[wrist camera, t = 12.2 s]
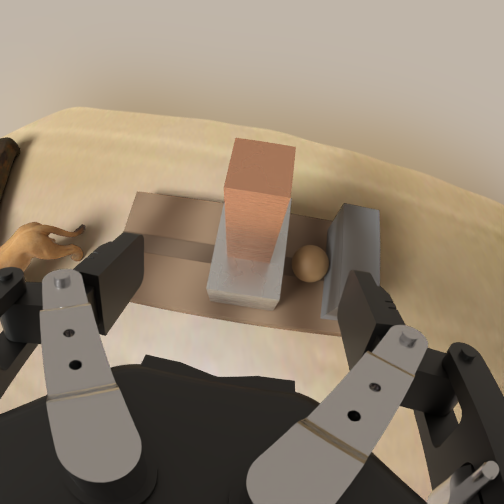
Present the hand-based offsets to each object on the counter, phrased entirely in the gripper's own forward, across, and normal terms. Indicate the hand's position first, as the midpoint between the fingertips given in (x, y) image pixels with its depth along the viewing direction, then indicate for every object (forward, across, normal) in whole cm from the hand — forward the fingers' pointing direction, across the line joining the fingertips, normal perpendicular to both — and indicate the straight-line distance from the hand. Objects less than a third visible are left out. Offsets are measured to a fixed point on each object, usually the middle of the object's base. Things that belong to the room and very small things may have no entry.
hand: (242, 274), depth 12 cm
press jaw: (+14, 0, +6) cm, 15 cm away
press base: (+15, 0, +7) cm, 17 cm away
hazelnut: (+14, -5, +6) cm, 16 cm away
